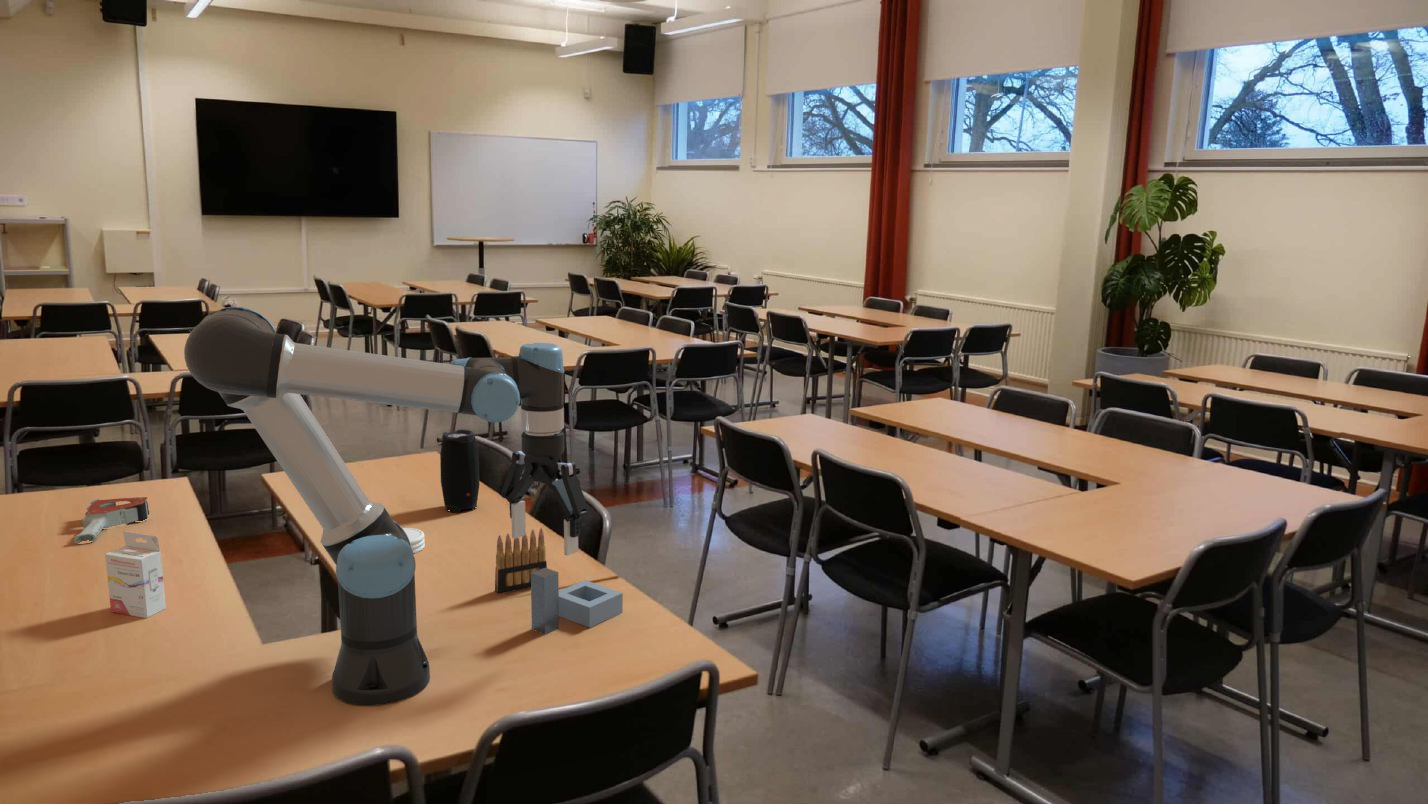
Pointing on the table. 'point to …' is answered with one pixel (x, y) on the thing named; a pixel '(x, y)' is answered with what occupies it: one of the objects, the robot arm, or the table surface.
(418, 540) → the white ridged disc
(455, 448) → the portable speaker
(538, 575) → the steel pin
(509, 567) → the ammunition clip
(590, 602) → the slot block
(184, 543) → the table surface
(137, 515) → the tape dispenser
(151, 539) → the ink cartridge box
